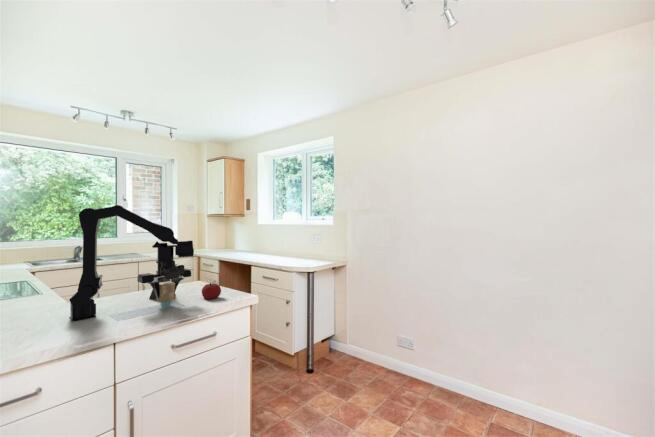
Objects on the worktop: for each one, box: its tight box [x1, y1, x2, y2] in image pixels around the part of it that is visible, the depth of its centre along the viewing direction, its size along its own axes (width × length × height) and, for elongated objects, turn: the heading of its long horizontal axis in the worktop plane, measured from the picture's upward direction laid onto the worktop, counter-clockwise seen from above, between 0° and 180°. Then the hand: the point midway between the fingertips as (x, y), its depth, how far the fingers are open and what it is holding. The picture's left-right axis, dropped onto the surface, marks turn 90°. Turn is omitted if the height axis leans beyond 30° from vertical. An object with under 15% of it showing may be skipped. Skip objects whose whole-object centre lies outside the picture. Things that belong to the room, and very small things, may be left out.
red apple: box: [201, 282, 222, 301], centre depth 137 cm, size 8×8×7 cm
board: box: [109, 301, 187, 322], centre depth 119 cm, size 24×10×1 cm, turn 139°
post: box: [160, 300, 171, 308], centre depth 123 cm, size 3×3×7 cm
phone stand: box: [148, 278, 176, 300], centre depth 137 cm, size 9×6×12 cm, turn 92°
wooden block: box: [155, 280, 176, 303], centre depth 123 cm, size 5×5×7 cm
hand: (165, 296), depth 123 cm, fingers closed on wooden block, 5 cm apart
